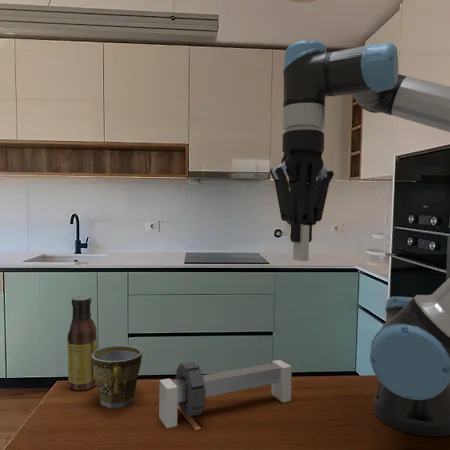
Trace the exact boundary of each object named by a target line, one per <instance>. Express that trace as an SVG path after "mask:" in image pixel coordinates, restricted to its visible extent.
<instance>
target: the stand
mask: <svg viewBox="0 0 450 450" xmlns="http://www.w3.org/2000/svg"><path fill="white" fill-rule="evenodd" d="M271 363H274V364H276V365H278V366H279V367H281V368H282V377H281V382H280V383H275V384H271V390H270V391H271V392H270V393H271V395H272V396H273V397H275V398H276V399H278V401H280V402H282V403H286V402H287V403H288V402H291V401H292V376H293V375H292V374H293V373H292V372H293V371H292V370H293V369H292V368H293V367H292V366H291V365H290V364H288V363H286V362H284V361H282V360H281V359H277V360H271ZM172 380H173V379H171V378H164V379H160V380H159V391H158V392H159V399H158V400H159V401H158V402H159V403H158V404H159V407H158V409H159V410H158V411H159V412H158V414H159V415H158V418H159V420H160V421H161V423H162V424H163V426H164V427H165V428H166V429H170V428H175V427H177V426H178V411H179V412H180V413H181V414H182V416H183V417H184V418H185V419H186V421H187V422H188V423H189V424H190V425H191V426H192V428H193V429H194V431H199V430H201V429H202V427H200V425H199V423H197V422H196V421H195V419H194V418H193V416H189V417H186V416H185V414H184V413H183V412H182V411H181V407H179V405H178V403H177V392H178V387H177V386H176V385H175V384H174V383H173V382H172Z"/></svg>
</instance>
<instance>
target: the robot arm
mask: <svg viewBox="0 0 450 450" xmlns="http://www.w3.org/2000/svg"><path fill="white" fill-rule="evenodd" d="M283 63H284V65H283V70H282V72H283V73H282V75H283V105H282V106H283V108H282V109H283V110H282V113H283V115H282V129H283V131H285V132H283V134H282V146H281V147H282V149H281V150H282V153H283V156H282V159H281V161H280V163H281V164H279V165H278V166H276V167H274V168H270V170H269V174H270V175H271V176H270V177H272V179H273V181H274V185H275V191H276V197H277V202H278V208H279V213H280V219H281V221H283V222H286V223H287V224H288V225H290V241H291V243H293V244H292V245H293V246H292V247H293V249H292V250H293V251H292V252H293V253H292V256H293V257H292V259H293V260H294V261H299V262H308V261H309V257H310V256H309V255H310V254H309V253H310V243H311V242H312V240H313V239H312V238H313V237H312V236H313V226H315V225H316V224H317V222H320V221H321V220H322V219H323V214H324V209H325V205H326V201H327V195H328V191H329V185H330V183H331V181H332V179H333V178H334V171H333V170H328V169H327V168H326V167H325V166H324V160H323V153H324V151H325V133H324V131H323V130H324V129H325V127H326V125H325V124H326V98H328V97H337V96H348V95H351V96H352V98H353V99H354V100H355V101H356V103H357V105H358V106H359V107H360V108H361V109H363V110H365V111H366V112H368V113H371V114H372V113H373V114H379V113H381V114H384V115H389V116H394V117H397V118H401V119H404V120H407V121H410V122H412V123H413V122H414V123H418V124H421V125H423V126H427V127H429V128H430V127H431V128H435V129H438V130H441V131H445V132H447V133H450V86H448V85H444V84H441V83H438V82H437V83H436V82H434V81H433V82H432V81H429V80H425V79H421V78H416V77H412V76H406V75H403V74H400V73H399V55H398V49H397V46H396V45H395V44H394V43H391V42H385V43H370V44H368V45H362V46H357V47H356V46H355V47H352V48H346V49H340V50H335V51H334V50H333V51H327V47H326V45H325V44H324V43H323V42H321V41H319V40H315V39H312V40H305V39H304V40H300V41H297V42H293V43H291V44H290V45H289V46H288V47H287V48H286V50H285V54H284V62H283ZM384 310H385V313H386V317H385V322H384V324H383V325H382V327H381V328H380V330H379V331H378V332H377V333H376V334H375V335H374V337H373V339H372V340H371V345H370V352H369V360H370V365H371V369H372V370H373V373H374V374H375V375H374V376H375V377H376V378H377V380H378V381H379V382H380V383H379V386H378V389H377V392H376V394H375V397H374V403H373V405H374V407H373V409H374V413H375V415H376V416H377V418H378V419H379V420H380V421H382V422H383V423H384V424H386V425H388V426H390V427H392V428H394V429H396V430H399V431H402V432H405V433H408V434H413V435H415V436H422V437H433V438H434V437H435V438H437V437H438V438H440V437H448V436H450V277H449V278H447V279H446V280H445V281H444V282H443V283H442V284H441V285H440V286H439V287H438V288H436V289H435V290H434V292H433V293H432V294H416V295H414V297H412V296H411V297H409V296H390V297H389V298H388V299H387V300H386V306H385V309H384Z"/></svg>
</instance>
